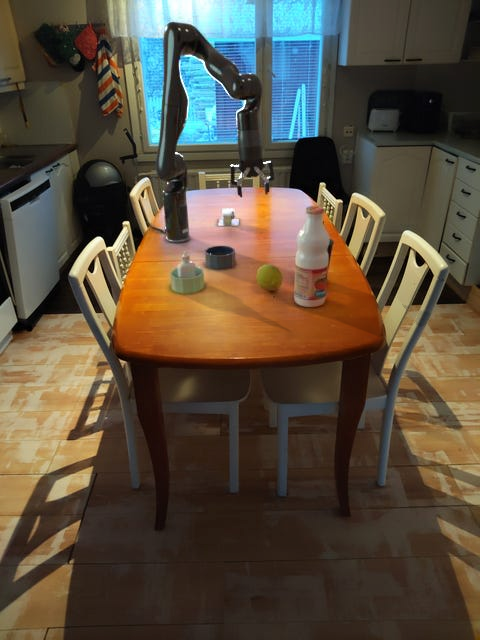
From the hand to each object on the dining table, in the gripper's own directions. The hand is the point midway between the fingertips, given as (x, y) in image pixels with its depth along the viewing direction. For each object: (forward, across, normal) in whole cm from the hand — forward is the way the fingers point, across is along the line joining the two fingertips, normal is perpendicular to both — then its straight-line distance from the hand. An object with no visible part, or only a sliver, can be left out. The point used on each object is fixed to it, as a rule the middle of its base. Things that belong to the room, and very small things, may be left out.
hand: (253, 195), depth 155 cm
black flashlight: (+26, -17, +19) cm, 37 cm away
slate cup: (+23, +14, 0) cm, 27 cm away
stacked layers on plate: (+22, +8, -48) cm, 54 cm away
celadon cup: (+23, +25, +18) cm, 38 cm away
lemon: (+25, -1, +23) cm, 34 cm away
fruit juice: (+26, -12, +32) cm, 43 cm away
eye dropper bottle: (+23, +25, +18) cm, 38 cm away
